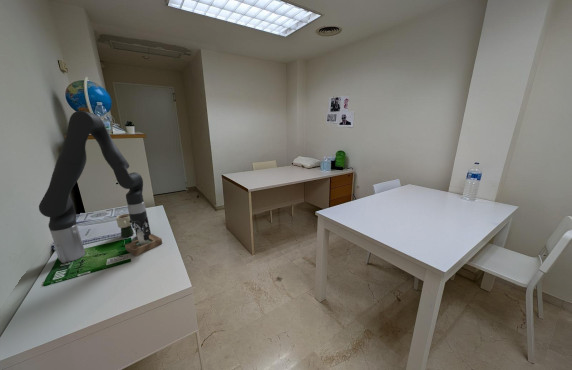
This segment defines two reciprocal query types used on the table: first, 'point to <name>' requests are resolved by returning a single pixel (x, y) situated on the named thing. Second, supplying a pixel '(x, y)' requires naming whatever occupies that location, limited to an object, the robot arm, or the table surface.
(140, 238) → the white rounded cylinder
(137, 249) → the wooden frame
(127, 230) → the character mug
